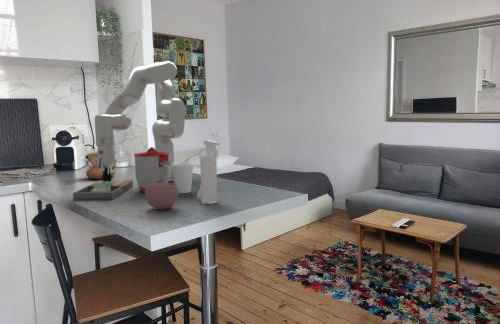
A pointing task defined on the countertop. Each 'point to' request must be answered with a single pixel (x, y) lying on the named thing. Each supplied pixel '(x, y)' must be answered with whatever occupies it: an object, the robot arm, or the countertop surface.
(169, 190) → the apple
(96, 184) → the sage tile
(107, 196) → the box
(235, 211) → the countertop surface
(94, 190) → the cream tile
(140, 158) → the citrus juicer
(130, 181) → the walnut plate
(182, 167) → the foam cup
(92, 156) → the ceramic jug
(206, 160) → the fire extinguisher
